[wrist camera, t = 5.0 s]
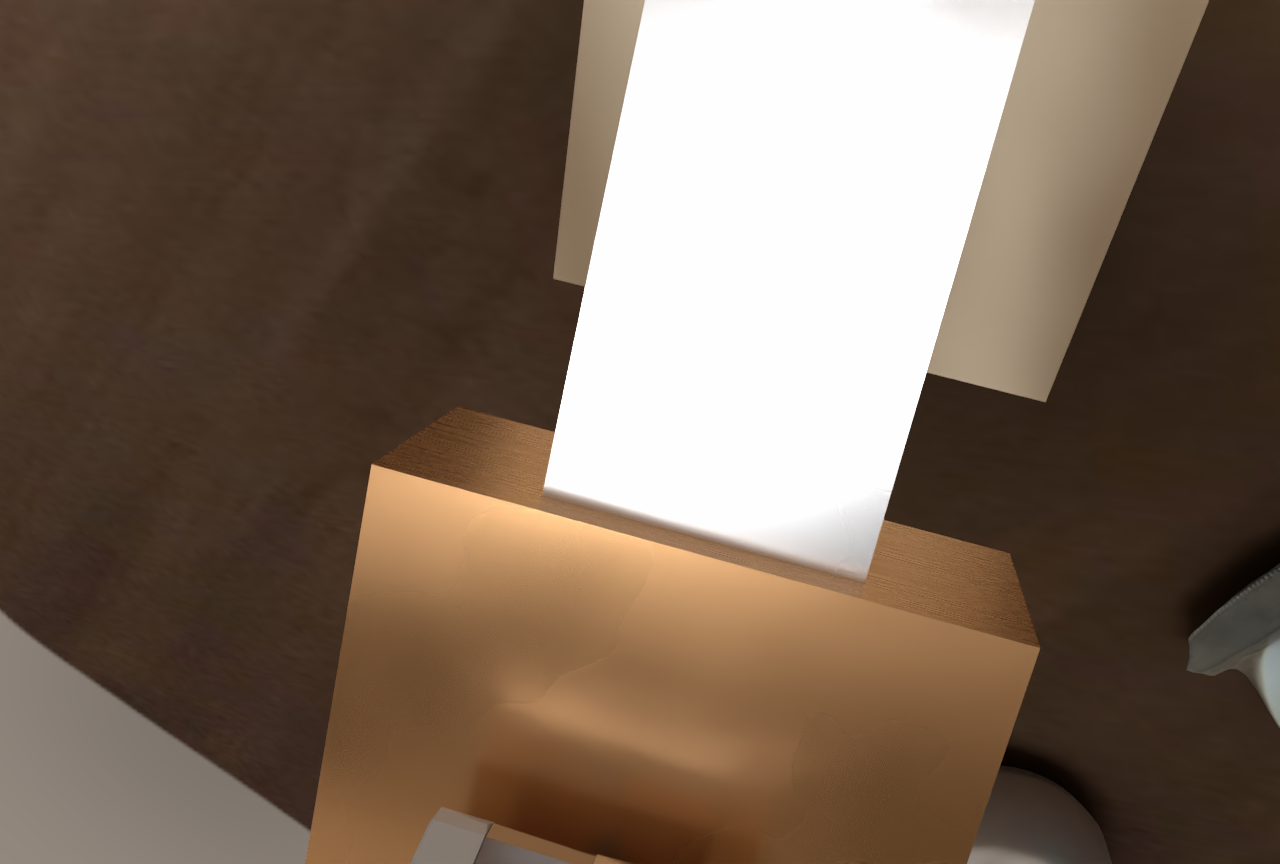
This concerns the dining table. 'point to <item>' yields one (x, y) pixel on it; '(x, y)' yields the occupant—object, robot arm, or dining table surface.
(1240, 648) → the salad plate
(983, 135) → the press lever
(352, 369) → the dining table surface
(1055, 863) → the plastic bottle
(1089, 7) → the press base
